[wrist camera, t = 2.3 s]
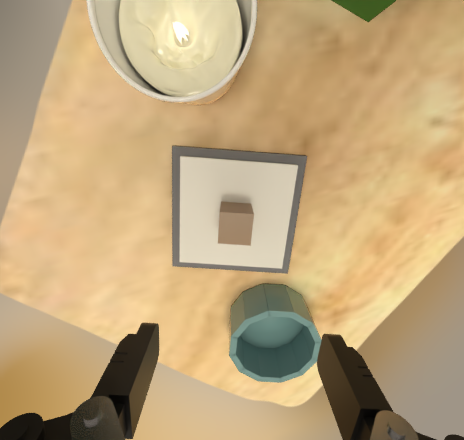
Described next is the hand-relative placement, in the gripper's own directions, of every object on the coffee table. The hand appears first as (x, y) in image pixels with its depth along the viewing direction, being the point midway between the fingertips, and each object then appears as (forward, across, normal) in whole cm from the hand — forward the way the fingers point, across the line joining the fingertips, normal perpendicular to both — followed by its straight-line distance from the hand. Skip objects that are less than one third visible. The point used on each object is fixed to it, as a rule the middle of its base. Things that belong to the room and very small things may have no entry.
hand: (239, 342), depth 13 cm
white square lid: (+20, 0, 0) cm, 20 cm away
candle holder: (+20, +5, -16) cm, 26 cm away
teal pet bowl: (+20, -6, +15) cm, 26 cm away
